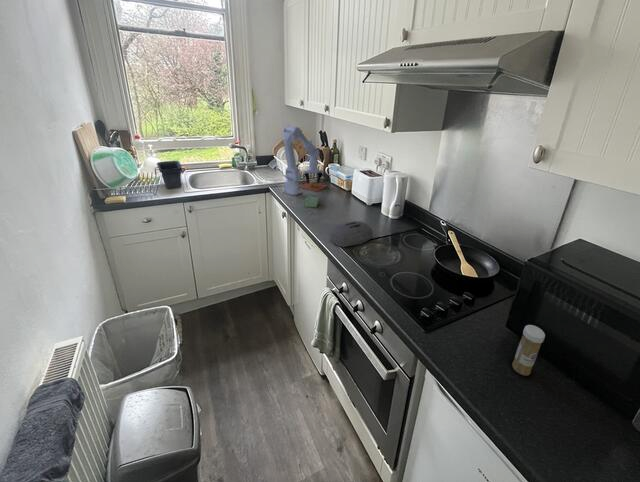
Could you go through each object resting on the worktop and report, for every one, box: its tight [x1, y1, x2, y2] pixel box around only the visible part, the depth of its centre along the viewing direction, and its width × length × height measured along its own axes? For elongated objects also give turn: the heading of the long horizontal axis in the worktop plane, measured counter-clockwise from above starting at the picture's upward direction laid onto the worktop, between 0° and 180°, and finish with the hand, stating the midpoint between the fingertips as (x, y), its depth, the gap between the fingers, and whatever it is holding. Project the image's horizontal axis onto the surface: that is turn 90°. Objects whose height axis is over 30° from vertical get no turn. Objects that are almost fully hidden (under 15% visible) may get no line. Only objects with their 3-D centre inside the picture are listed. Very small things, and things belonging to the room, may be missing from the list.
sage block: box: [304, 195, 319, 208], centre depth 182 cm, size 7×7×4 cm
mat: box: [299, 181, 328, 193], centre depth 215 cm, size 16×14×1 cm
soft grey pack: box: [330, 220, 373, 248], centre depth 142 cm, size 15×8×20 cm
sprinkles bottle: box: [511, 324, 546, 376], centre depth 78 cm, size 5×5×13 cm
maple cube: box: [309, 179, 318, 187], centre depth 214 cm, size 4×4×4 cm
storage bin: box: [154, 160, 183, 190], centre depth 200 cm, size 21×16×14 cm
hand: (313, 183), depth 214 cm, fingers open, 7 cm apart
